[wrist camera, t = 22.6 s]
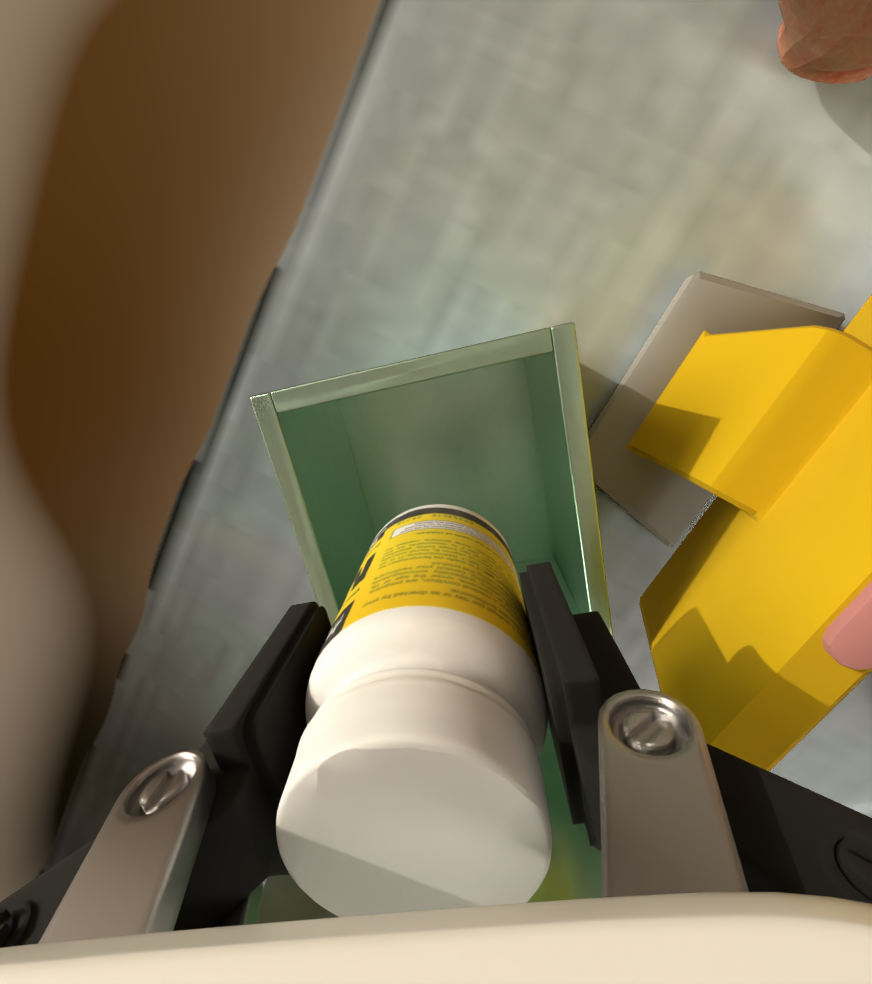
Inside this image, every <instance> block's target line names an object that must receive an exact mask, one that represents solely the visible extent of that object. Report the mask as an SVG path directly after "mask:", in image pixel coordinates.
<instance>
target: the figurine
mask: <svg viewBox="0 0 872 984" xmlns="http://www.w3.org/2000/svg"><path fill="white" fill-rule="evenodd" d="M778 2H779V6H780V9H781V13H782V17H783V20H784V21H783V23H782V25H781V26H780V28H779V34H778V40H777V45H778V52H779V55H780V58H781V62H782V64H783V65H784V66H785V67H786V68H787V69H788V70H789V71H791V72H792V73H794V74H796V75H798V76H799V77H802V78H805V79H809V80H812V81H817V82H824V83H850V82H859V81H862V80H864V79H867V78H868V77H869V76H870V75H871V74H872V0H778Z"/></svg>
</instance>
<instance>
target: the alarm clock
mask: <svg viewBox="0 0 872 984" xmlns="http://www.w3.org/2000/svg"><path fill="white" fill-rule="evenodd" d="M844 320H845V317H844V314H843V313H839V312H836V311H833V310H829V309H826V308H822V307H819V306H815V305H812V304H809V303H805V302H802V301H798V300H795V299H792V298H788V297H785V296H781V295H778V294H775V293H771V292H768V291H764V290H761V289H757V288H754V287H751V286H747V285H744V284H740V283H737V282H734V281H730V280H727V279H723V278H720V277H717V276H713V275H710V274H706V273H703V272H699V273H696V274H693V275H691V276H689V277H686V279H685V280H684V282H683V284H682V285H681V287H680V288H679V290H678V291H677V293H676V295H675V296H674V298H673V299H672V301H671V302H670V304H669V306H668V307H667V309H666V310H665V312H664V314H663V315H662V317H661V318H660V320H659V321H658V323H657V325H656V326H655V328H654V329H653V331H652V332H651V334H650V336H649V337H648V339H647V340H646V342H645V344H644V345H643V347H642V348H641V350H640V351H639V353H638V355H637V356H636V358H635V359H634V361H633V363H632V364H631V366H630V367H629V369H628V370H627V372H626V374H625V375H624V377H623V378H622V380H621V381H620V383H619V385H618V386H617V388H616V389H615V391H614V393H613V394H612V396H611V397H610V399H609V400H608V402H607V404H606V405H605V407H604V408H603V410H602V412H601V413H600V415H599V416H598V418H597V419H596V421H595V423H594V424H593V426H592V427H591V429H590V430H589V432H588V437H589V445H590V453H591V461H592V470H593V478H594V483H595V484H596V485H597V486H599V487H600V488H601V489H602V490H603V491H604V492H606V493H607V494H608V495H609V496H610V497H611V498H613V499H614V500H615V501H616V502H617V503H618V504H619V505H621V506H622V507H623V508H624V509H625V510H626V511H628V512H629V513H630V514H631V515H632V516H633V517H634V518H636V519H637V520H638V521H639V522H640V523H641V524H643V525H644V526H645V527H646V528H647V529H648V530H649V531H651V532H652V533H653V534H654V535H655V536H656V537H658V538H659V539H660V540H661V541H662V542H663V543H664V544H666V545H667V546H668V547H669V546H673V545H674V544H675V543H676V541H677V540H678V539H679V537H680V536H681V535H682V533H683V532H684V531H685V530H686V528H687V527H688V526H689V524H690V523H691V522H692V520H693V519H694V518H695V516H696V515H697V514H698V512H699V511H700V510H701V508H702V507H703V506H704V504H705V503H706V502H707V500H708V499H709V498H710V497H711V495H712V494H715V495H716V496H717V498H716V499H715V500H714V502H713V503H712V504H711V506H710V507H709V508H708V510H707V511H706V512H705V513H704V515H703V516H702V517H701V519H700V520H699V521H698V523H697V524H696V525H695V527H694V528H693V529H692V530H691V532H690V533H689V534H688V536H687V537H686V538H685V540H684V541H683V542H682V544H681V545H680V546H679V548H678V549H677V550H676V551H675V553H674V554H673V555H672V557H671V558H670V559H669V561H668V562H667V563H666V565H665V566H664V567H663V568H662V570H661V571H660V572H659V574H658V575H657V576H656V578H655V579H654V580H653V582H652V583H651V584H650V585H649V587H648V588H647V589H646V591H645V592H644V593H643V595H642V596H641V597H640V609H641V613H642V617H643V621H644V625H645V629H646V633H647V638H648V642H649V646H650V650H651V654H652V658H653V663H654V667H655V671H656V675H657V679H658V683H659V688H660V692H661V693H663V694H666V695H669V696H671V697H673V698H675V699H676V700H678V701H680V702H681V703H683V704H684V705H686V706H687V707H688V708H689V709H690V710H691V711H692V712H693V713H694V714H695V715H696V717H697V719H698V721H699V723H700V725H701V727H702V730H703V734H704V737H705V741H706V743H707V744H710V745H712V746H714V747H716V748H718V749H721V750H723V751H725V752H727V753H729V754H732V755H734V756H736V757H738V758H740V759H743V760H745V761H747V762H749V763H751V764H754V765H756V766H758V767H760V768H762V769H765V770H767V771H770V770H771V769H772V768H773V767H774V766H775V765H776V764H777V763H778V762H779V761H780V760H781V759H782V758H783V757H784V756H785V755H786V754H787V753H788V752H789V751H790V750H791V749H792V748H793V747H794V746H795V745H796V744H798V743H799V742H800V741H801V740H802V739H803V738H804V737H805V736H806V735H807V734H808V733H809V732H810V731H811V730H812V729H813V728H814V727H815V726H816V725H817V724H818V723H819V722H820V721H821V720H822V719H823V718H824V717H825V716H826V715H827V714H828V713H829V712H830V711H831V710H832V709H833V708H834V707H835V706H836V705H837V704H838V703H839V702H840V701H841V700H842V699H843V698H844V697H845V696H846V695H847V694H849V693H850V692H851V691H852V690H853V689H854V688H855V687H856V686H857V685H858V684H859V683H860V682H861V681H862V680H863V679H864V678H865V677H866V676H867V675H868V674H869V673H870V672H871V671H872V295H871V296H870V297H869V299H868V300H867V301H866V303H865V304H864V305H863V307H862V308H861V309H860V310H859V312H858V313H857V314H856V316H855V317H854V318H853V320H852V321H851V322H850V324H849V325H848V326H847V327H846V329H845V330H844V331H843V332H842V331H839V330H837V329H838V328H839V326H840V325H841V324H842V322H843V321H844Z"/></svg>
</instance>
